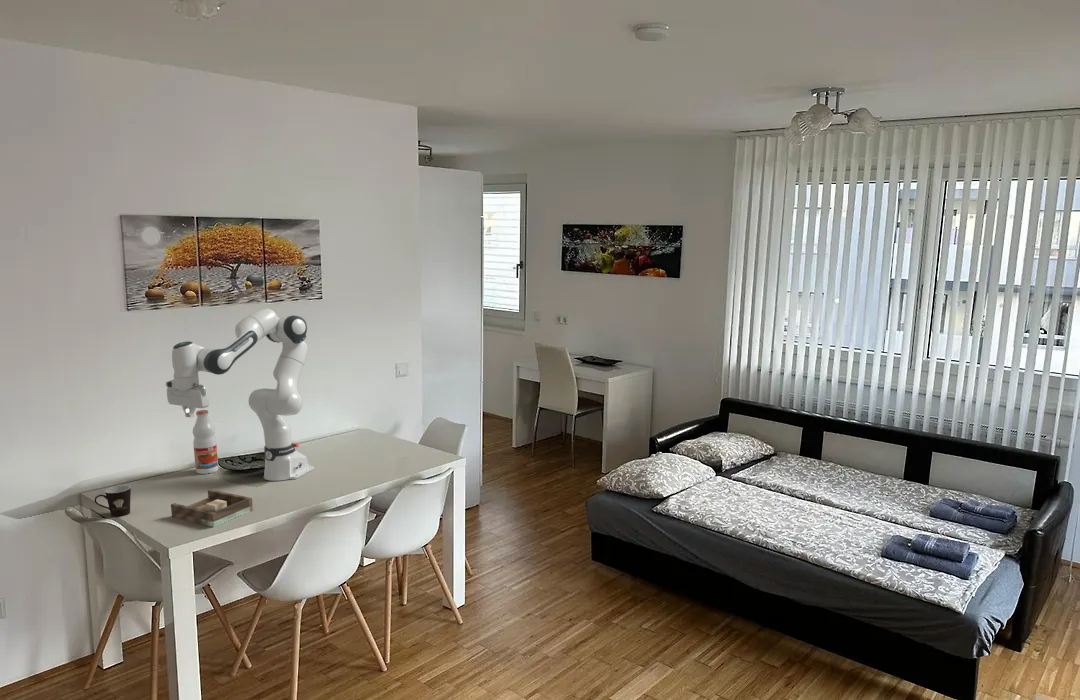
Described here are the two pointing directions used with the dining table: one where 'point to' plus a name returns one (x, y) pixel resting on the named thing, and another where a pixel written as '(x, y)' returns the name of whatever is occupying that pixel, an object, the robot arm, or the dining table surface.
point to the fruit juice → (204, 444)
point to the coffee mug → (117, 500)
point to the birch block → (216, 505)
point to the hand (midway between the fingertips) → (189, 416)
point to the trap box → (202, 516)
